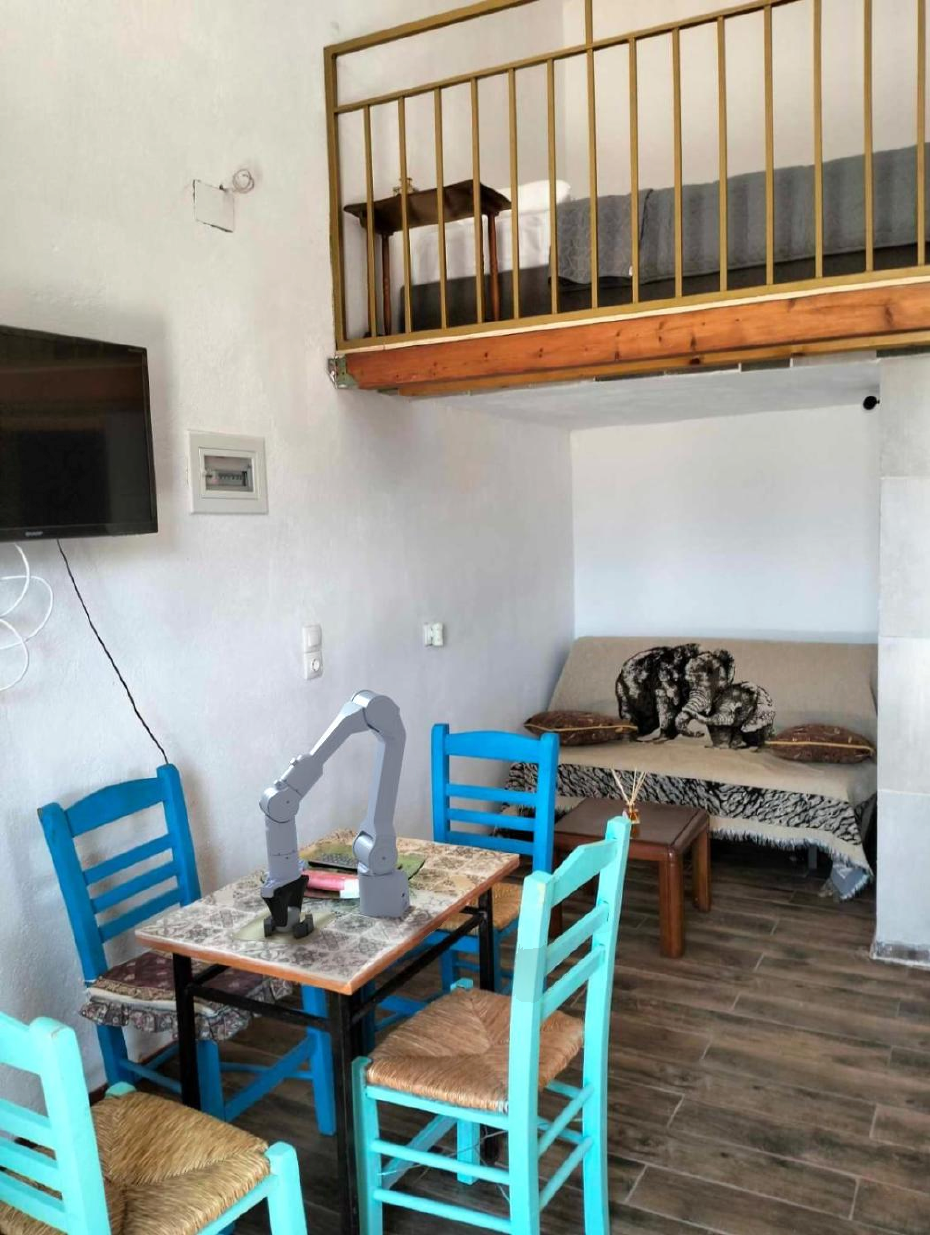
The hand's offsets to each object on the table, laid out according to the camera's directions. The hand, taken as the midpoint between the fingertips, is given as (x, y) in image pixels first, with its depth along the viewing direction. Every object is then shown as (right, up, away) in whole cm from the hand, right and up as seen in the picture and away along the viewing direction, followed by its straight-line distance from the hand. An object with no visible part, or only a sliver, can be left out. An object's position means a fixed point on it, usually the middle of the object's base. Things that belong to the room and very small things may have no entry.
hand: (288, 920), depth 188 cm
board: (-1, -3, +3) cm, 4 cm away
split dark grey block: (0, -2, 0) cm, 2 cm away
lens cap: (0, -1, 0) cm, 1 cm away
